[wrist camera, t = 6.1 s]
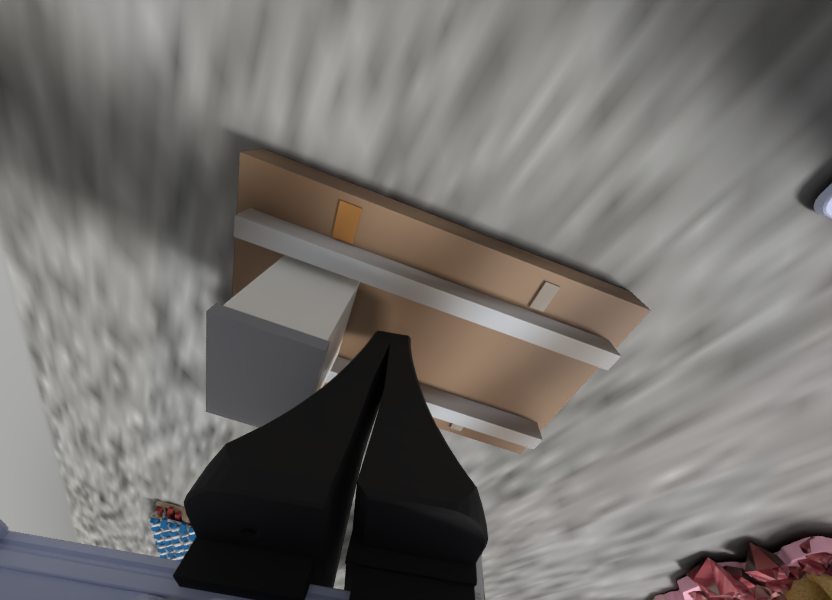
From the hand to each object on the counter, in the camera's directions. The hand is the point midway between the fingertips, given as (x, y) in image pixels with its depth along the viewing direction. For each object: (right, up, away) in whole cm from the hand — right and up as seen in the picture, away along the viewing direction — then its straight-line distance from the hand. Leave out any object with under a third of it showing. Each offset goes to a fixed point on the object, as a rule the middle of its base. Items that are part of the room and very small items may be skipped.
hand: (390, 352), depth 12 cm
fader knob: (-3, +2, +1) cm, 4 cm away
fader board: (+1, +1, +3) cm, 3 cm away
